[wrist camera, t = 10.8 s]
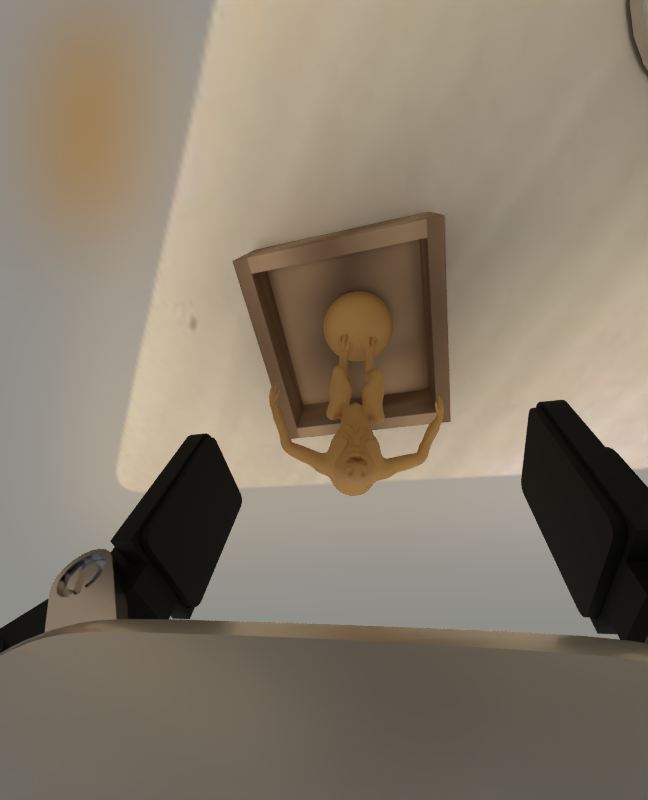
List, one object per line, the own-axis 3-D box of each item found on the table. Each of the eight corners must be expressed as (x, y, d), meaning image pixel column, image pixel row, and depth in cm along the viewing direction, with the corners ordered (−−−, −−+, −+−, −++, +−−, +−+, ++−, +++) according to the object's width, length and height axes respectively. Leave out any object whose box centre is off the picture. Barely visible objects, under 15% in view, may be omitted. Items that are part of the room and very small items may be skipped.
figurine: (431, 287, 20) (505, 405, 11) (411, 375, 24) (453, 525, 14) (291, 277, 21) (236, 384, 11) (291, 365, 24) (249, 507, 14)
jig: (429, 211, 20) (444, 215, 16) (437, 389, 25) (450, 421, 22) (254, 250, 22) (232, 261, 18) (298, 406, 27) (288, 439, 24)
